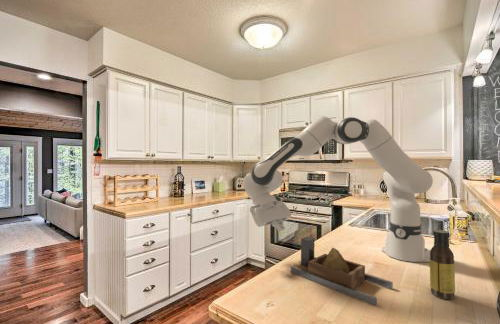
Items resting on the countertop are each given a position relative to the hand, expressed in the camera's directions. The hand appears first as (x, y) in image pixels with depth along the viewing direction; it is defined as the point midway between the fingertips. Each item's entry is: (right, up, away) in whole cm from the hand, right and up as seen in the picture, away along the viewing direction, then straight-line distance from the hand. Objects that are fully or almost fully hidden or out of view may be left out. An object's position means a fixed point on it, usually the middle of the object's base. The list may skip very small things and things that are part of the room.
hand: (282, 230), depth 109 cm
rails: (+17, -12, -18) cm, 28 cm away
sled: (+15, -12, -15) cm, 24 cm away
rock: (+17, -13, -18) cm, 27 cm away
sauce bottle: (+46, -13, -28) cm, 56 cm away
